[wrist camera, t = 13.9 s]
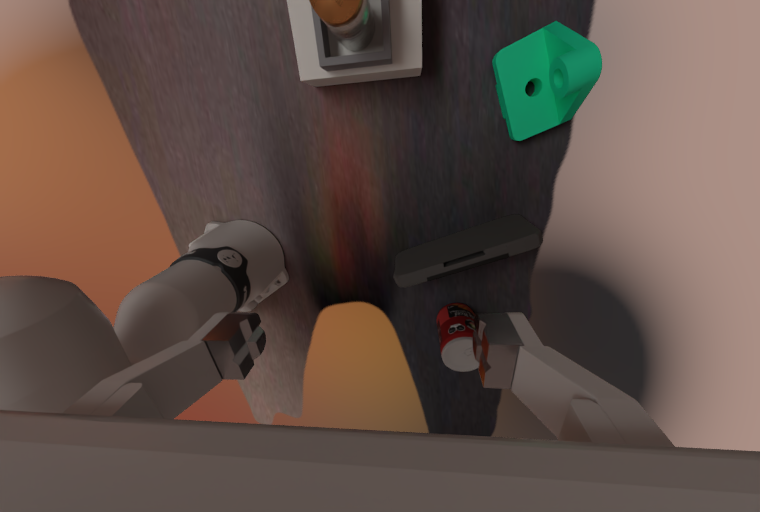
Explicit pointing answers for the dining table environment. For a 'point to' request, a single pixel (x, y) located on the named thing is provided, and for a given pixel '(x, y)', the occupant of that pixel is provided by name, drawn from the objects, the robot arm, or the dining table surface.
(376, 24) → the grey pedestal block
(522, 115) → the camera mount
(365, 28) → the glass jar
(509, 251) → the handheld gaming console
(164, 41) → the dining table surface
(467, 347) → the canned food
